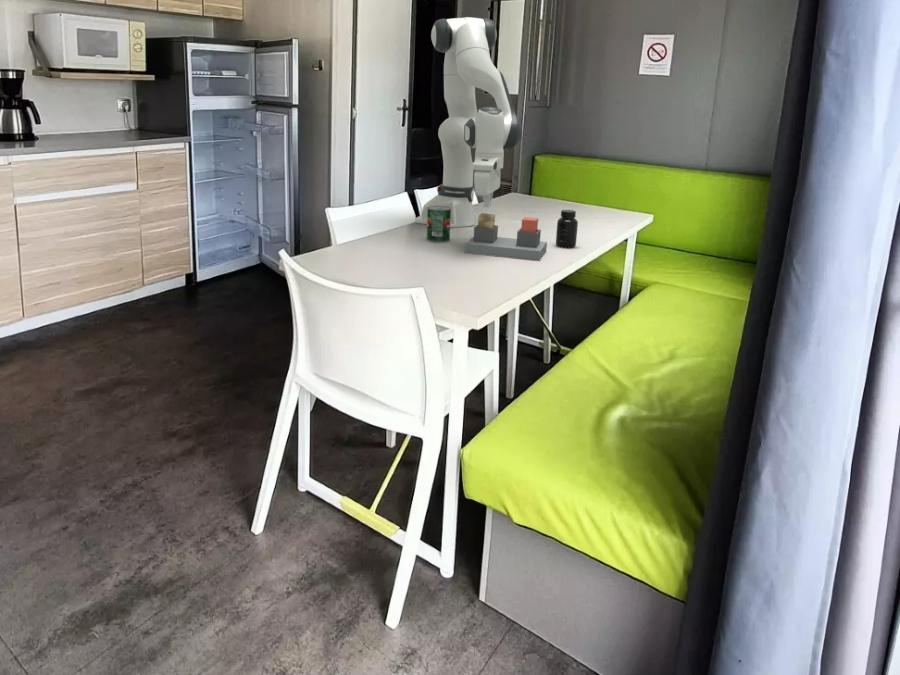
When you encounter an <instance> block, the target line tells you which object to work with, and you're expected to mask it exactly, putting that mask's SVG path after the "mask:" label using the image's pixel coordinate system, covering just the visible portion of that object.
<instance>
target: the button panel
mask: <svg viewBox="0 0 900 675" xmlns="http://www.w3.org/2000/svg"><path fill="white" fill-rule="evenodd" d="M498 232H499V225H495V224H494V227H493V228H492V229H490V228H480V227H478V224H476V225H475V226H473V236H472V237H471V238H470V239H468V240H467V241H466V242H465V243H464V254H474V255H482V256H493V257H501V258H511V259H520V260H531V261H541V259H542V257H543V256H544V254H546V252H547V249H548V248H547V247H548V242H547V241H542V240H541V235H542V234H541V233H542V230H541V229H538V228H537V232H536V233H531V232H521V227H520V228H519V229H518V230H517V233H516V238H511V237H501V236H498Z"/></svg>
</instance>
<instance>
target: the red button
mask: <svg viewBox="0 0 900 675" xmlns="http://www.w3.org/2000/svg"><path fill="white" fill-rule="evenodd" d="M538 225H539V218H537V217H523V218H522V219H521V227H520V228H521V232H531V233H536V232H537V229H538Z"/></svg>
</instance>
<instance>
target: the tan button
mask: <svg viewBox="0 0 900 675" xmlns="http://www.w3.org/2000/svg"><path fill="white" fill-rule="evenodd" d="M495 222H496V214H494V213H484V212H482V213H480V214H478V218H477V225H478V227H480V228H490V229H492V228H493V227H494V225H495Z"/></svg>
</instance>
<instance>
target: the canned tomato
mask: <svg viewBox="0 0 900 675" xmlns="http://www.w3.org/2000/svg"><path fill="white" fill-rule="evenodd" d="M427 213H428V214H427V224H426V240H427V241H428V242H432V243H447V242H450V240H451V239H450V238H451V237H450V236H451V235H450V234H451V228H450V219H451V218H450V217H451V208H450V207H447V206H429V207H428V212H427Z"/></svg>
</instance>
